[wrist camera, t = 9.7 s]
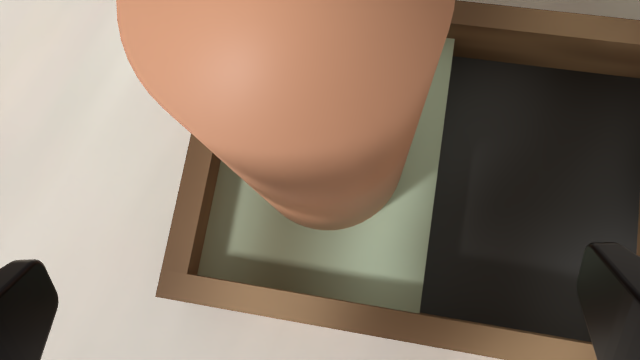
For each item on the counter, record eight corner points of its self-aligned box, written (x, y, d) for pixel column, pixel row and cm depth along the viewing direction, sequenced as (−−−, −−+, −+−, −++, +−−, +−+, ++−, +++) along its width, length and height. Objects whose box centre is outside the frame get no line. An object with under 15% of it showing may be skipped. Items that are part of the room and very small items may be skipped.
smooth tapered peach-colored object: (433, 175, 17) (529, 19, 7) (307, 260, 17) (226, 220, 7) (348, 59, 18) (329, -216, 8) (228, 138, 18) (59, -48, 8)
